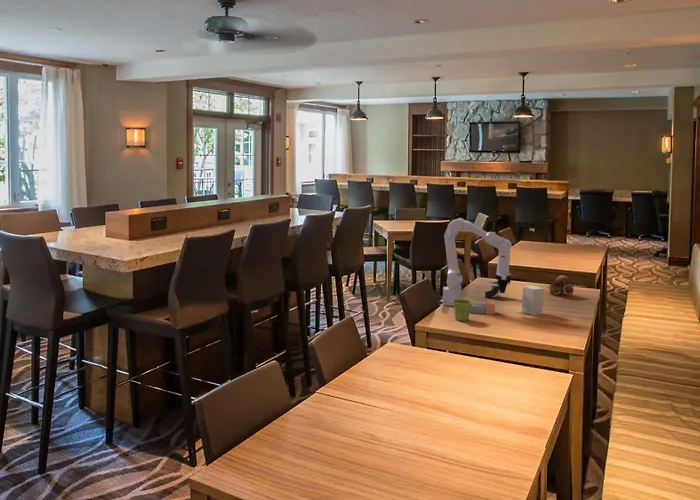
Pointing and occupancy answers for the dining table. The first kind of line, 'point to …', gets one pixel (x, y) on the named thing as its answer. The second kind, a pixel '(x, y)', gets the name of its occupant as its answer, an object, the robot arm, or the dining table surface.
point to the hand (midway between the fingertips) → (501, 291)
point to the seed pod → (561, 286)
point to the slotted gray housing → (477, 308)
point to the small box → (532, 300)
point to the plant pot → (462, 309)
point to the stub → (489, 307)
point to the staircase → (494, 289)
